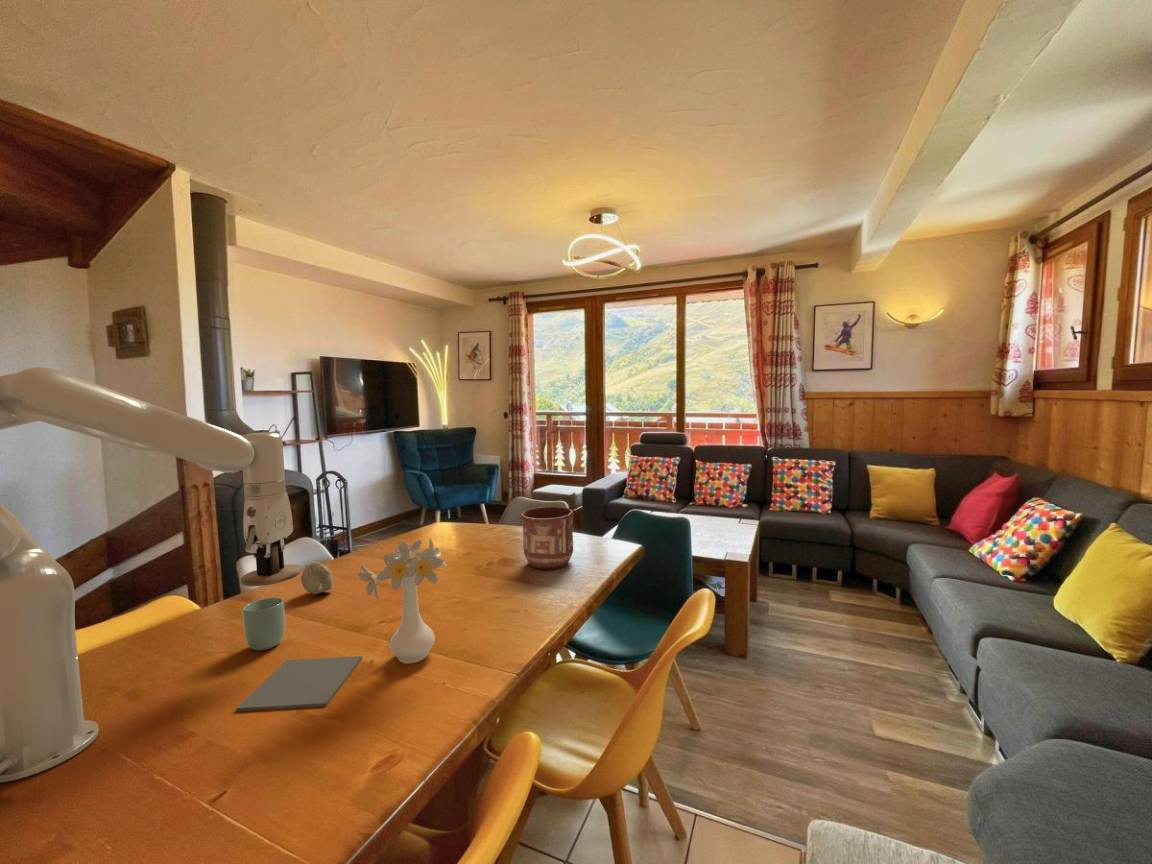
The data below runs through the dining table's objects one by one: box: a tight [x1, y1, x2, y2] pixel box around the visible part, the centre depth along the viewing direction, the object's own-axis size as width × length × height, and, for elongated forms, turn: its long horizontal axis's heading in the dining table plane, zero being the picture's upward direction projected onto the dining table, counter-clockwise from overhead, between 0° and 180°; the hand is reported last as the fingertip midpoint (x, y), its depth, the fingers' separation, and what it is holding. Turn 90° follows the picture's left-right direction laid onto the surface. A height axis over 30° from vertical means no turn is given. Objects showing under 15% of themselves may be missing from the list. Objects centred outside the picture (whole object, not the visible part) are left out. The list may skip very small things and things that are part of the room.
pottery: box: [520, 505, 574, 571], centre depth 158 cm, size 18×18×18 cm
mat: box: [235, 655, 363, 712], centre depth 93 cm, size 16×16×1 cm
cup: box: [242, 596, 286, 652], centre depth 108 cm, size 8×8×10 cm
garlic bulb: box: [300, 561, 335, 595], centre depth 138 cm, size 9×8×10 cm
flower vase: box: [357, 537, 448, 665], centre depth 100 cm, size 13×18×25 cm
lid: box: [240, 544, 302, 587], centre depth 102 cm, size 11×11×7 cm
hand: (271, 571), depth 103 cm, fingers closed on lid, 3 cm apart
